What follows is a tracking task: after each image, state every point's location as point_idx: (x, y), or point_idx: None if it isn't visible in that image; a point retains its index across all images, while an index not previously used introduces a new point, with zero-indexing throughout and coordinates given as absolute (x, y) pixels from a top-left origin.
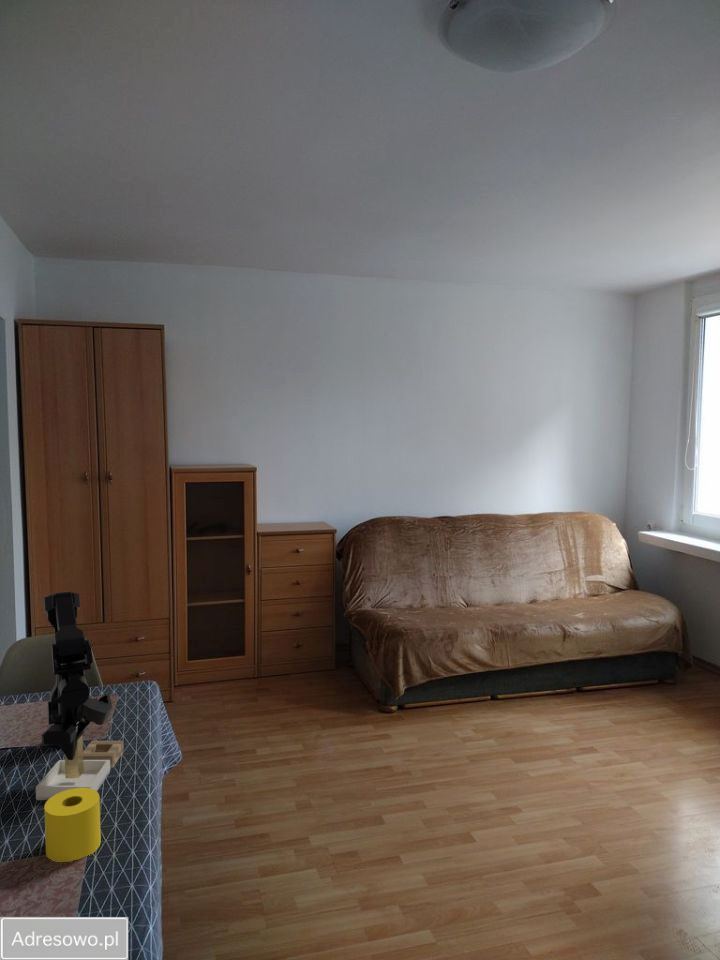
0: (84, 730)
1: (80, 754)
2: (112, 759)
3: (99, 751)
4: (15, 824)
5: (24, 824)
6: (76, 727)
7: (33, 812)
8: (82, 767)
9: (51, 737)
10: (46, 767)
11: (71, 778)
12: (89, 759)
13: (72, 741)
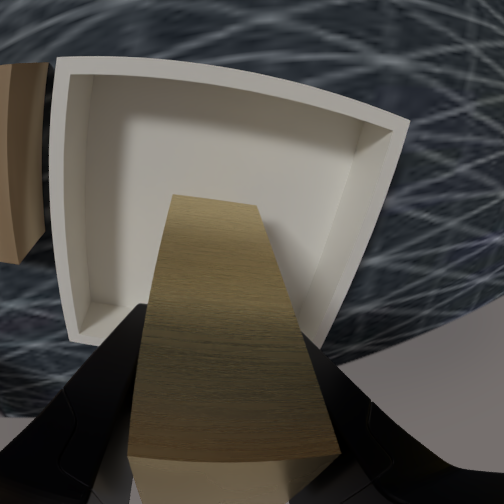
0: (21, 449)
1: (221, 284)
2: (23, 63)
3: None
4: (416, 326)
5: (429, 305)
6: None
7: (378, 305)
8: (187, 211)
9: None
10: (59, 344)
11: (160, 242)
12: (21, 202)
13: (446, 469)
